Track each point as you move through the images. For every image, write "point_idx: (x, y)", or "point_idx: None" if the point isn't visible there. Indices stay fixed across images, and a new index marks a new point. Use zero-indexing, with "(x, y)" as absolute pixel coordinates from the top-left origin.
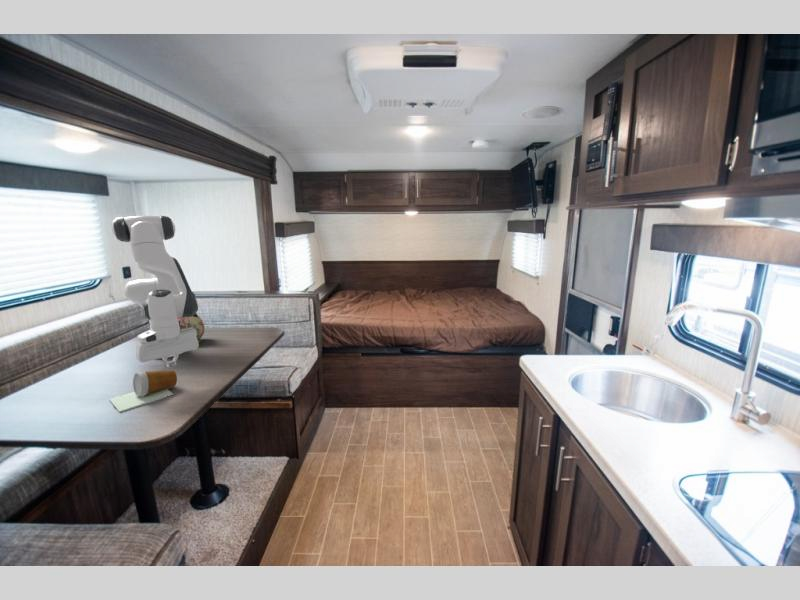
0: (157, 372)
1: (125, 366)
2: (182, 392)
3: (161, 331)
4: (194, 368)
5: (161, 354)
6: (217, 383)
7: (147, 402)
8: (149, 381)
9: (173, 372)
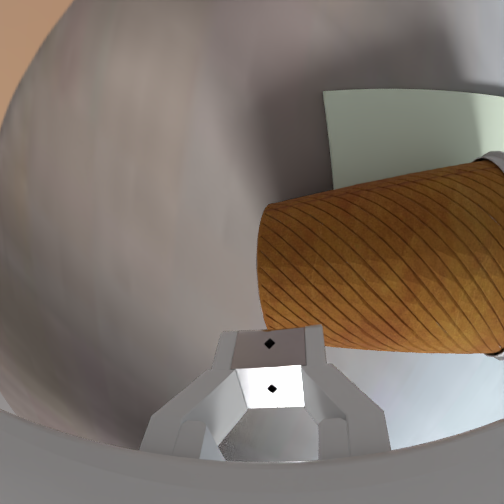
0: (426, 293)
1: None
2: (258, 89)
3: None
4: (159, 391)
5: (452, 500)
6: (58, 99)
7: (464, 92)
8: (499, 186)
9: (275, 276)
